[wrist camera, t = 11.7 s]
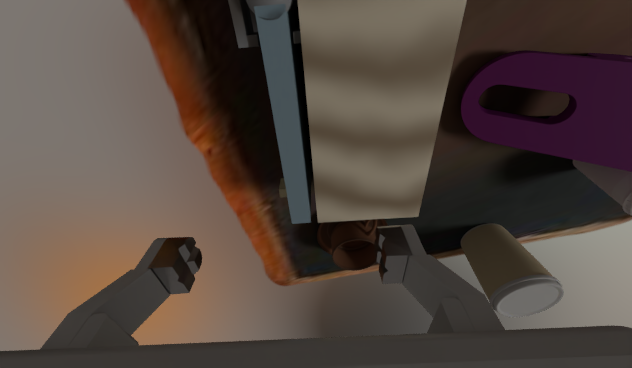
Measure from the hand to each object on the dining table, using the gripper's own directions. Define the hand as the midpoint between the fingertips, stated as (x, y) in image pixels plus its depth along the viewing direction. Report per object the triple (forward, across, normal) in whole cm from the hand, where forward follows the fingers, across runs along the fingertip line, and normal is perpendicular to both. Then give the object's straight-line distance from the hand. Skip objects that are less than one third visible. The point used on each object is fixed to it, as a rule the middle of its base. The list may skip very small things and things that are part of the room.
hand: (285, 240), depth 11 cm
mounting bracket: (+24, -28, +2) cm, 37 cm away
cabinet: (+23, -4, +1) cm, 24 cm away
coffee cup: (+23, -30, +28) cm, 47 cm away
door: (+23, +2, +1) cm, 23 cm away
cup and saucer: (+23, -6, +23) cm, 34 cm away
